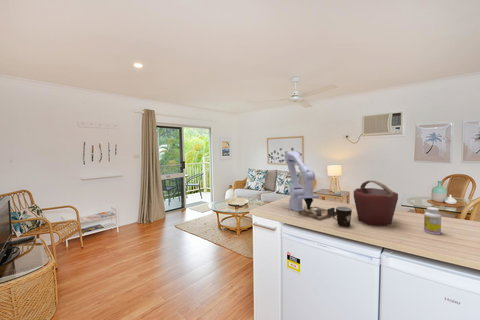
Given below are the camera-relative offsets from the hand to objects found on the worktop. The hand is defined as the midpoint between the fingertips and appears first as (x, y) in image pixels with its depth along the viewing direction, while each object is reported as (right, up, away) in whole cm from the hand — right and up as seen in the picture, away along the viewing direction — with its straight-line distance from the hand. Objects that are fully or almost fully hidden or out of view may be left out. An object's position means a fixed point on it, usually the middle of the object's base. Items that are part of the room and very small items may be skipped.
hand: (308, 209), depth 145 cm
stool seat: (+7, -4, +2) cm, 8 cm away
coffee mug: (+13, -5, -19) cm, 24 cm away
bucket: (+35, -5, -14) cm, 38 cm away
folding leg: (+2, -2, +1) cm, 3 cm away
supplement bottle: (+55, -5, -32) cm, 64 cm away
